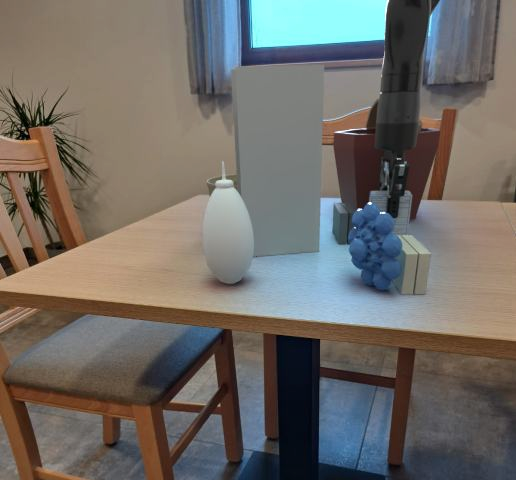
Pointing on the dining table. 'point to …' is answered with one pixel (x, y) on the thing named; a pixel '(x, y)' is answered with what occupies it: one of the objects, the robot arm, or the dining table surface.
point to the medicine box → (403, 213)
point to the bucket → (367, 162)
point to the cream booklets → (412, 267)
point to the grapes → (375, 246)
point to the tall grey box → (280, 154)
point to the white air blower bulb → (227, 233)
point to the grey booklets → (342, 221)
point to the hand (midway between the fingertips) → (388, 214)
